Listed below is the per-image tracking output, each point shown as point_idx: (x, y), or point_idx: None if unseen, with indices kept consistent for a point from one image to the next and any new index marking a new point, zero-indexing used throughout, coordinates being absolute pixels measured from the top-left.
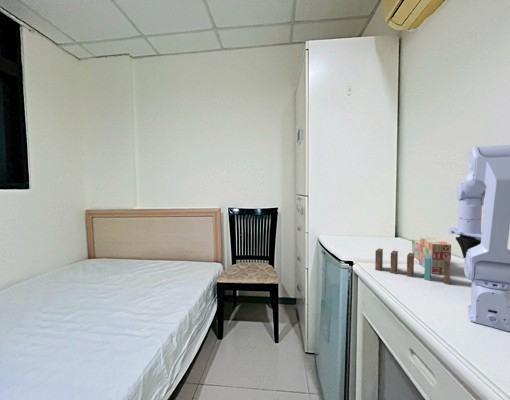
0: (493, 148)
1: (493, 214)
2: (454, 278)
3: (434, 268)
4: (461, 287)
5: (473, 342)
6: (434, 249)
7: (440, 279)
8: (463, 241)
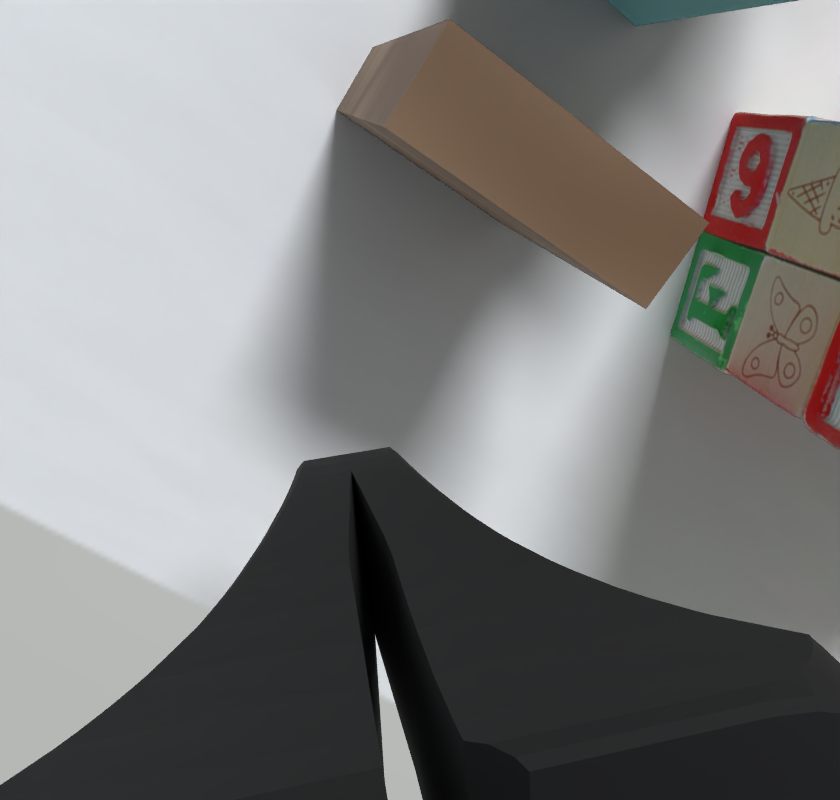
0: None
1: None
2: (568, 327)
3: (780, 161)
4: (253, 213)
5: None
6: None
7: None
8: (274, 737)
